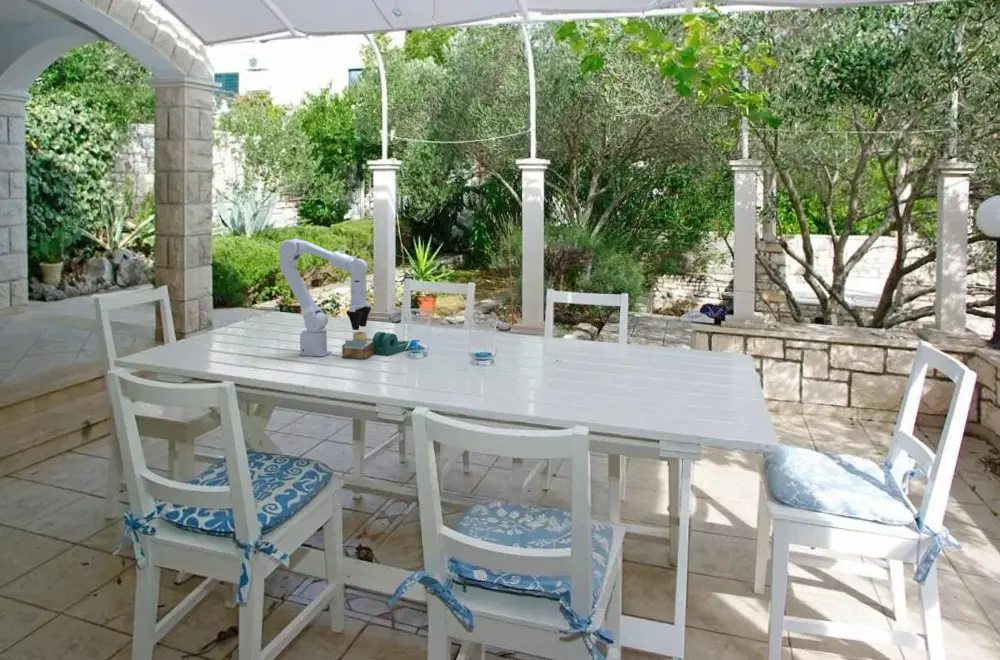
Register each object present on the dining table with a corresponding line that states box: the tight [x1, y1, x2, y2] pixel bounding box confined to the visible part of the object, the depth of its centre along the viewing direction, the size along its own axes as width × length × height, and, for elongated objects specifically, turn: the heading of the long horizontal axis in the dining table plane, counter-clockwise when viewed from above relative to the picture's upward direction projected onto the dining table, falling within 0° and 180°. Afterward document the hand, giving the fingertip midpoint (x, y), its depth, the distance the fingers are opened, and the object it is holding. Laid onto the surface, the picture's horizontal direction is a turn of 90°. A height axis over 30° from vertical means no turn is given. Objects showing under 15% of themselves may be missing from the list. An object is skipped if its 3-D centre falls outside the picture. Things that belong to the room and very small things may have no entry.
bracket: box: [372, 331, 410, 356], centre depth 287 cm, size 18×7×8 cm, turn 150°
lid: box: [344, 339, 373, 349], centre depth 278 cm, size 8×13×3 cm, turn 171°
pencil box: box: [341, 338, 375, 360], centre depth 279 cm, size 9×14×5 cm, turn 171°
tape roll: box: [352, 331, 368, 344], centre depth 278 cm, size 5×5×4 cm
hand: (359, 328), depth 277 cm, fingers open, 7 cm apart
